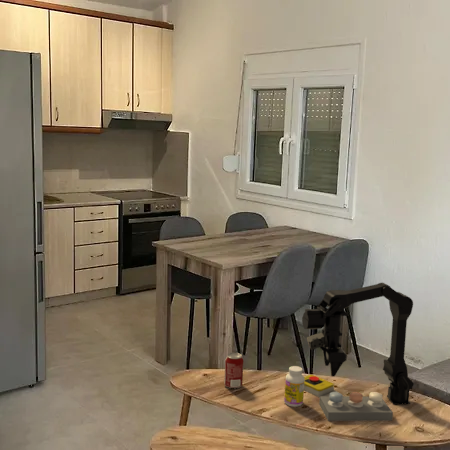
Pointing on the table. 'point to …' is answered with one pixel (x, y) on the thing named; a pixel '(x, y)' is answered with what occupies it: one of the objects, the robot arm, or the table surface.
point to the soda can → (233, 370)
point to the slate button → (335, 397)
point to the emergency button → (318, 386)
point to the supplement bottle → (294, 387)
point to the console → (355, 410)
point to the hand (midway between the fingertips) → (329, 370)
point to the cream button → (375, 397)
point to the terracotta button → (356, 397)
